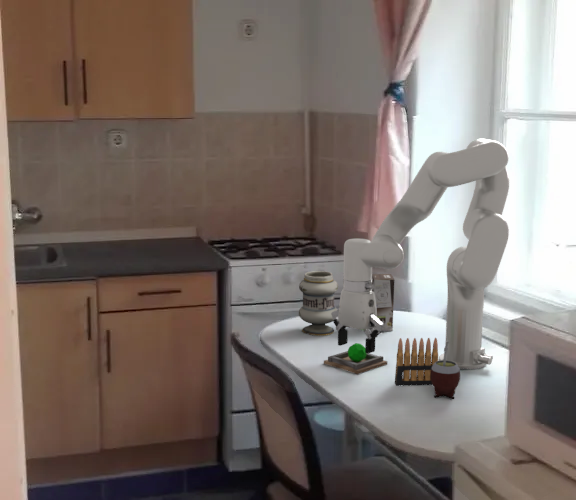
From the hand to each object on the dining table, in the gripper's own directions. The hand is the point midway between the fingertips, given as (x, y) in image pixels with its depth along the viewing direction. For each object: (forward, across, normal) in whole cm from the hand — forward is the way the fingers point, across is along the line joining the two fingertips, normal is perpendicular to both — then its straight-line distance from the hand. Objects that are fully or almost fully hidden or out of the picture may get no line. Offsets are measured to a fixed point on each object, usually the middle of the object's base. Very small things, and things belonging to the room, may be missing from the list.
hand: (356, 348), depth 228 cm
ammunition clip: (+5, -21, +1) cm, 22 cm away
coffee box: (+5, +19, -34) cm, 39 cm away
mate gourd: (+5, -31, +3) cm, 31 cm away
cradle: (+4, 0, 0) cm, 4 cm away
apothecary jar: (+5, +29, -16) cm, 33 cm away
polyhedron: (+4, 0, 0) cm, 4 cm away
